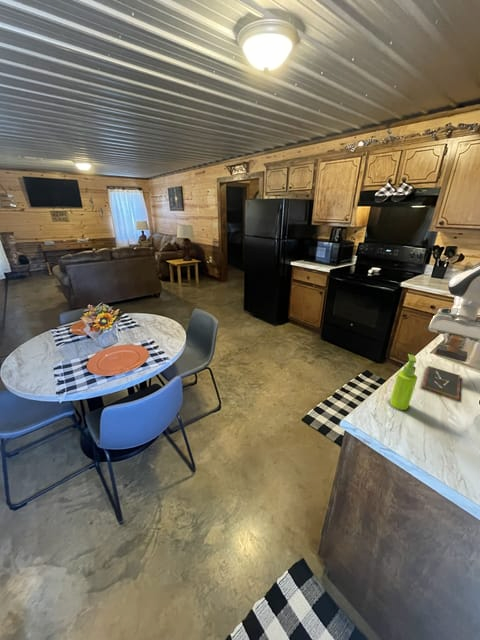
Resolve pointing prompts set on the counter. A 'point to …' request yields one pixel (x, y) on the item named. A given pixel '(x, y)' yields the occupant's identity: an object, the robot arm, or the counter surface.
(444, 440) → the counter surface
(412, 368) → the soap dispenser
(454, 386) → the chalkboard
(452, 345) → the eraser
